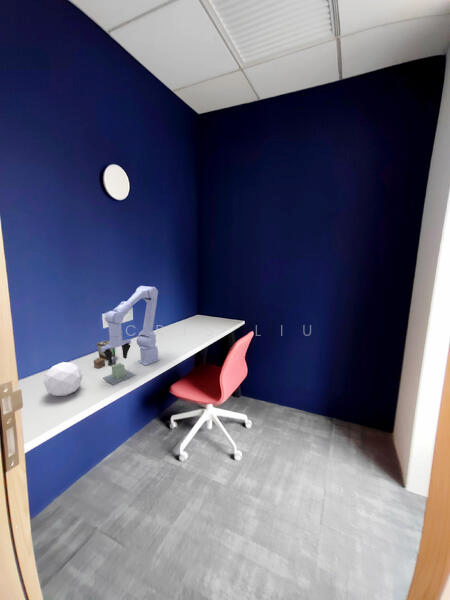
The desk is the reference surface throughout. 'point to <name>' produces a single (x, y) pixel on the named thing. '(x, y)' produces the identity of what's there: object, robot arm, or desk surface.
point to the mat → (115, 381)
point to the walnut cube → (99, 363)
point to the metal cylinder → (113, 360)
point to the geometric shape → (63, 379)
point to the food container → (101, 354)
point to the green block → (118, 370)
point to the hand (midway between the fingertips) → (117, 360)
